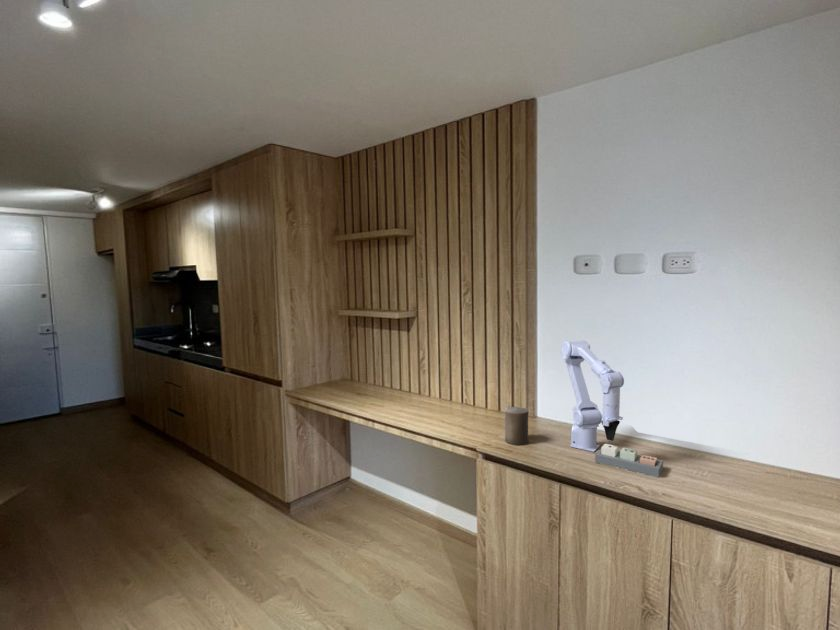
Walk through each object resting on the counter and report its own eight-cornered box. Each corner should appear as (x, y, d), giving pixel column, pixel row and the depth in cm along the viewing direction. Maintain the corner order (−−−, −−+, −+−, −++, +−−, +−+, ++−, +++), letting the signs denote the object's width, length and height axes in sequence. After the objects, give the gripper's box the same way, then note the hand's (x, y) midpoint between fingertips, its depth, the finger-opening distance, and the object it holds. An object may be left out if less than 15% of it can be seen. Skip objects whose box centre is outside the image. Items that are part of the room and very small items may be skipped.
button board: (595, 462, 161) (595, 454, 161) (601, 454, 168) (602, 447, 168) (658, 477, 148) (658, 469, 148) (662, 468, 156) (663, 460, 155)
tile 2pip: (619, 462, 158) (620, 450, 158) (622, 457, 162) (623, 446, 161) (634, 465, 155) (634, 453, 155) (637, 460, 159) (637, 449, 158)
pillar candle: (528, 446, 178) (529, 410, 177) (504, 444, 180) (504, 409, 178) (527, 437, 187) (528, 404, 186) (504, 436, 189) (504, 402, 188)
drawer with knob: (601, 457, 162) (601, 446, 162) (604, 453, 166) (605, 443, 165) (614, 460, 159) (615, 449, 159) (618, 456, 163) (618, 445, 162)
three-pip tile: (639, 469, 154) (639, 458, 154) (642, 465, 158) (642, 454, 157) (654, 473, 151) (654, 461, 151) (656, 468, 155) (657, 457, 155)
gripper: (617, 410, 153) (616, 448, 154) (627, 401, 164) (626, 436, 165) (597, 407, 157) (596, 443, 158) (607, 398, 168) (606, 432, 169)
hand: (610, 439), depth 162 cm, fingers closed
